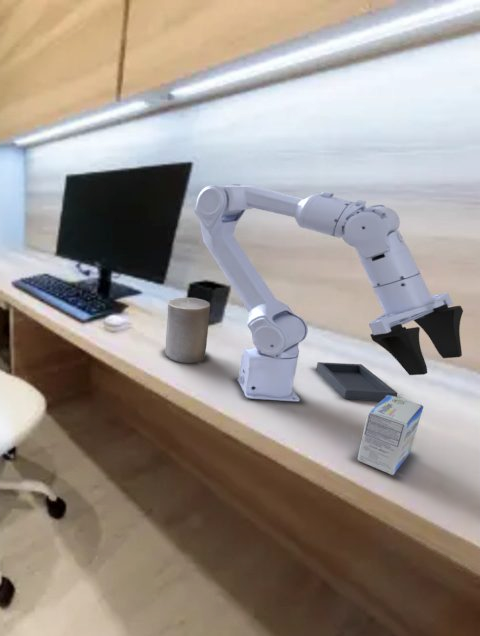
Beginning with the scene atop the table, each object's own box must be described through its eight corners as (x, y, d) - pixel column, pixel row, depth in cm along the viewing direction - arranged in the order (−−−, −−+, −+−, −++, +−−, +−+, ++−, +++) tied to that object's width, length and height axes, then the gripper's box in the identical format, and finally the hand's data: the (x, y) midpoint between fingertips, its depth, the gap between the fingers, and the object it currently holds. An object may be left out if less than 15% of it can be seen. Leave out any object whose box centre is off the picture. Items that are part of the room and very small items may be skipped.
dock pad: (344, 398, 74) (346, 390, 73) (315, 369, 85) (317, 362, 85) (395, 401, 72) (397, 393, 71) (359, 371, 84) (361, 364, 83)
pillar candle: (208, 351, 97) (214, 294, 92) (201, 366, 89) (206, 305, 84) (170, 345, 102) (173, 290, 97) (159, 359, 94) (162, 300, 89)
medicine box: (393, 477, 54) (408, 424, 51) (355, 460, 57) (368, 410, 55) (409, 454, 58) (425, 405, 56) (373, 440, 62) (386, 393, 59)
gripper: (390, 286, 52) (434, 381, 51) (458, 259, 56) (502, 346, 54) (342, 298, 59) (380, 382, 57) (406, 273, 63) (443, 351, 61)
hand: (435, 365), depth 56 cm, fingers open, 7 cm apart
